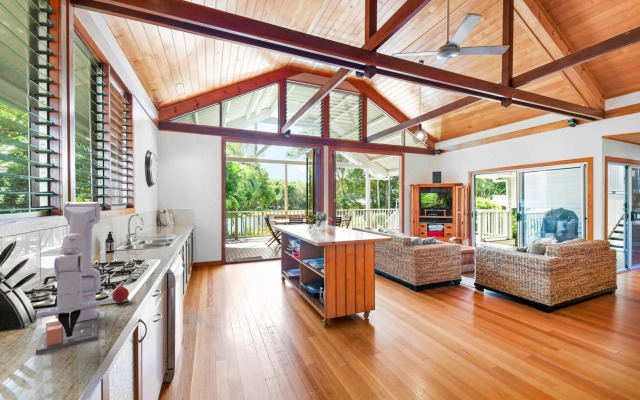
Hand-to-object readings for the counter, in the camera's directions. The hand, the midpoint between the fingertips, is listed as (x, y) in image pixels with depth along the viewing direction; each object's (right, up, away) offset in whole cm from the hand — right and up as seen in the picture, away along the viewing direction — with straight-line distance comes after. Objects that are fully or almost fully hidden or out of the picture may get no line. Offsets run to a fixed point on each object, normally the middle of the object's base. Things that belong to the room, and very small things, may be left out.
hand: (69, 335), depth 88 cm
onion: (-8, -2, +33) cm, 34 cm away
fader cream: (-8, -1, +3) cm, 8 cm away
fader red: (-3, -1, -2) cm, 4 cm away
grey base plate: (-3, -2, +3) cm, 5 cm away
